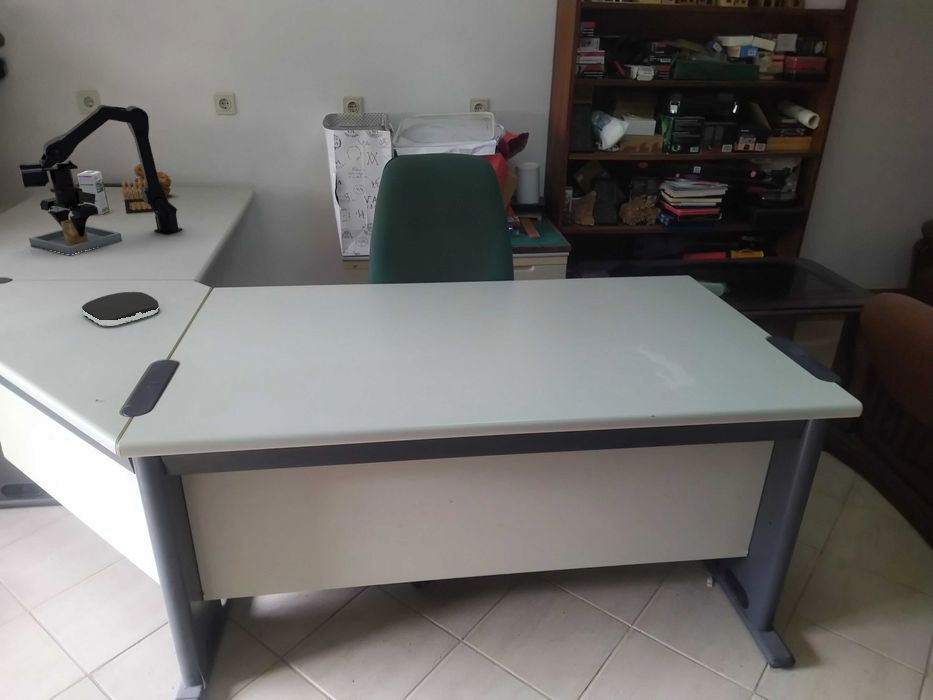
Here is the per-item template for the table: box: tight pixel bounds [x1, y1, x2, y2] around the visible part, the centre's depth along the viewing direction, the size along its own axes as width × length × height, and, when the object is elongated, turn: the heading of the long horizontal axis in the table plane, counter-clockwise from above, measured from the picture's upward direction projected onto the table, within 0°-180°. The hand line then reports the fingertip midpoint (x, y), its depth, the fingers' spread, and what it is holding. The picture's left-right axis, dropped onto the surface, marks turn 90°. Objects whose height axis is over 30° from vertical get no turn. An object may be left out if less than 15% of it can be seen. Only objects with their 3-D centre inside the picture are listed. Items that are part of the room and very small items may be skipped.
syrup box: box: [76, 170, 111, 216], centre depth 235 cm, size 6×6×14 cm
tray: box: [28, 224, 123, 256], centre depth 206 cm, size 18×18×2 cm
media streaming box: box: [81, 291, 160, 320], centre depth 161 cm, size 15×15×3 cm
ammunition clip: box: [121, 178, 156, 215], centre depth 238 cm, size 11×2×12 cm, turn 113°
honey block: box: [61, 218, 88, 244], centre depth 205 cm, size 4×4×6 cm
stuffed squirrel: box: [133, 163, 172, 197], centre depth 258 cm, size 10×14×13 cm
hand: (75, 234), depth 205 cm, fingers open, 6 cm apart
